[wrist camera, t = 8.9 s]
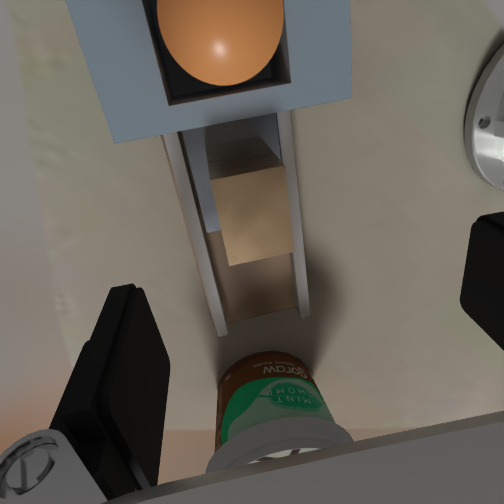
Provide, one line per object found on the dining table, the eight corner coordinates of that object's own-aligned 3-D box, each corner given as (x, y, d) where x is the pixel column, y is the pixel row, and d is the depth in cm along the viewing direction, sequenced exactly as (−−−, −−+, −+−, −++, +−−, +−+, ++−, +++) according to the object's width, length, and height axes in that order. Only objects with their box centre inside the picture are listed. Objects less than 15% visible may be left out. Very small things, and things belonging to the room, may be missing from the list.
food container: (335, 339, 34) (383, 435, 26) (323, 385, 37) (364, 486, 28) (203, 343, 32) (208, 451, 23) (202, 392, 35) (206, 503, 26)
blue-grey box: (284, -58, 20) (347, -132, 12) (297, 83, 23) (351, 98, 15) (92, -25, 19) (23, -81, 11) (134, 113, 22) (104, 145, 15)
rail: (281, 77, 23) (292, 80, 20) (303, 293, 31) (314, 315, 28) (154, 101, 22) (149, 107, 20) (212, 313, 31) (214, 338, 28)
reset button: (252, -41, 14) (275, -76, 11) (266, 69, 16) (289, 74, 13) (154, -24, 14) (139, -54, 10) (179, 85, 16) (176, 95, 12)
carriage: (265, 105, 22) (307, 134, 14) (277, 198, 25) (317, 265, 17) (183, 121, 21) (178, 160, 14) (205, 213, 24) (211, 288, 17)
